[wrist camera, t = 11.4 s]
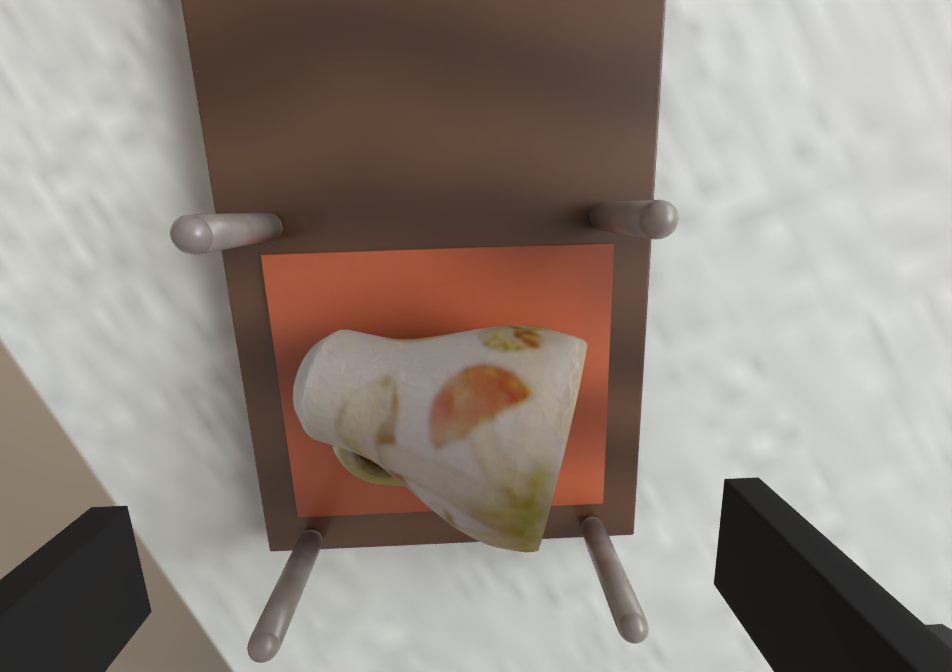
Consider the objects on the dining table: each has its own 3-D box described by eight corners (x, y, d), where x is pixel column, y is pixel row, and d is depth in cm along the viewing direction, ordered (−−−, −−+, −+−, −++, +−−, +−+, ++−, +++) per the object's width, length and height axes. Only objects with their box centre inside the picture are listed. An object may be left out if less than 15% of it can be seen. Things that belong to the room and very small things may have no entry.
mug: (302, 274, 18) (413, 279, 10) (507, 328, 24) (694, 361, 15) (256, 469, 18) (327, 642, 10) (472, 480, 23) (639, 599, 15)
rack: (623, 514, 23) (697, 655, 16) (281, 530, 23) (198, 681, 16) (662, -221, 16) (828, -569, 9) (168, -215, 16) (-80, -572, 9)
